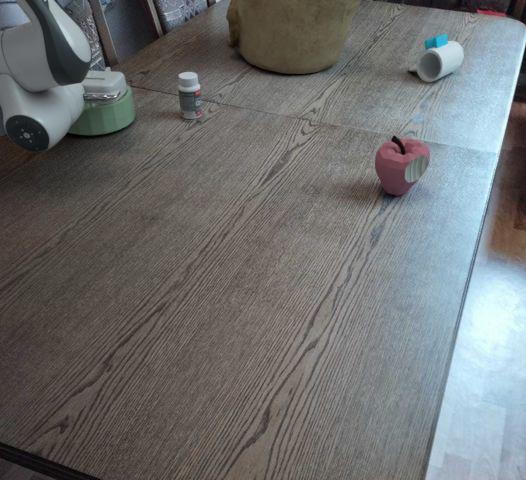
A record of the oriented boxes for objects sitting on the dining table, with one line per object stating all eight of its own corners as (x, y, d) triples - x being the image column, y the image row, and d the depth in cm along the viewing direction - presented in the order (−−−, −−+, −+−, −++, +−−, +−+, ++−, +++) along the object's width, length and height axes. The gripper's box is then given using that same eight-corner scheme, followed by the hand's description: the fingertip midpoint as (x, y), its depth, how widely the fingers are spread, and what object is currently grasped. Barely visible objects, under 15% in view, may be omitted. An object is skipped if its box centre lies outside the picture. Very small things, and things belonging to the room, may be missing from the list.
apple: (387, 208, 95) (397, 153, 88) (360, 185, 101) (368, 131, 93) (432, 196, 98) (445, 141, 91) (403, 174, 103) (414, 121, 96)
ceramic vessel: (265, 26, 165) (265, -78, 147) (385, 59, 146) (403, -56, 128) (195, 51, 150) (187, -62, 132) (320, 92, 131) (329, -34, 112)
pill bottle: (201, 119, 120) (198, 79, 114) (179, 119, 120) (175, 79, 114) (203, 110, 123) (200, 71, 117) (182, 110, 123) (178, 71, 117)
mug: (466, 26, 133) (439, 37, 127) (470, 66, 138) (444, 79, 132) (423, 37, 142) (397, 48, 136) (428, 75, 146) (403, 87, 140)
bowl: (41, 124, 118) (33, 95, 114) (101, 99, 127) (95, 72, 123) (92, 146, 111) (85, 116, 107) (151, 118, 120) (147, 90, 116)
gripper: (112, 81, 99) (132, 55, 108) (2, 77, 100) (32, 51, 110) (118, 116, 103) (137, 88, 113) (13, 111, 105) (41, 84, 114)
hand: (84, 70), depth 111 cm, fingers open, 8 cm apart
